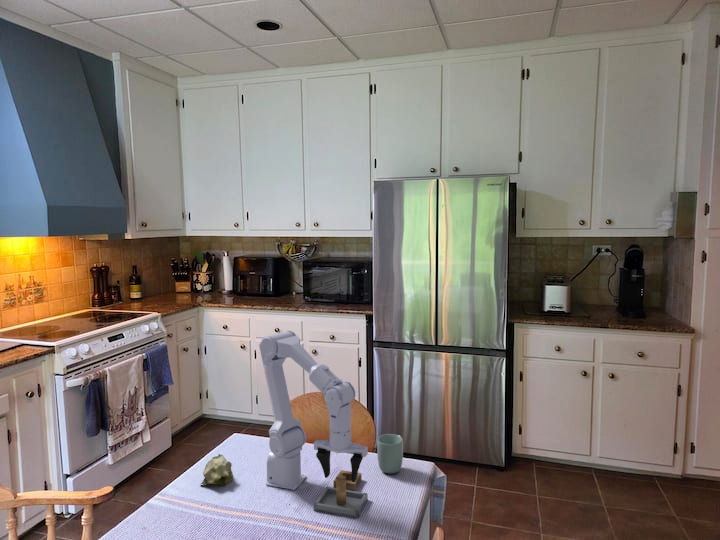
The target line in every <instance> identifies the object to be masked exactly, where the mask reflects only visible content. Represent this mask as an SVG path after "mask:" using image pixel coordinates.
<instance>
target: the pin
mask: <svg viewBox="0 0 720 540" xmlns="http://www.w3.org/2000/svg"><path fill="white" fill-rule="evenodd" d="M335 478H336V503H337V505H340V506H342V505H345V504H346V477H345V476H343V475H339V476H337V475H336V476H335Z"/></svg>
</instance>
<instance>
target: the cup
mask: <svg viewBox="0 0 720 540" xmlns="http://www.w3.org/2000/svg"><path fill="white" fill-rule="evenodd" d="M376 443H377V444H376V445H377V446H376V447H377V449H376V450H377V463H378V467H379V469H380V470H381V472H383V473H384V474H390V475H392V474H397V473H398V472H399V471H400V470H401V468H402V466H403V458H404V440H403V437H402V436H401V435H399V434H394V433H384V434H382V435H379V436H378V437H377V442H376Z"/></svg>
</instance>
